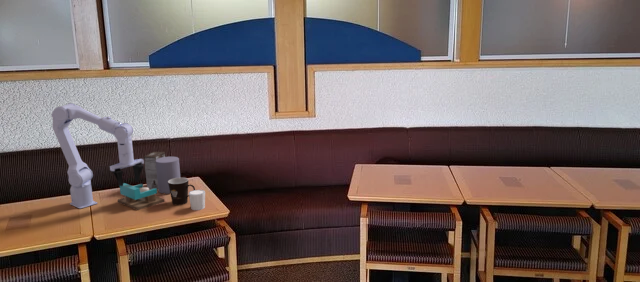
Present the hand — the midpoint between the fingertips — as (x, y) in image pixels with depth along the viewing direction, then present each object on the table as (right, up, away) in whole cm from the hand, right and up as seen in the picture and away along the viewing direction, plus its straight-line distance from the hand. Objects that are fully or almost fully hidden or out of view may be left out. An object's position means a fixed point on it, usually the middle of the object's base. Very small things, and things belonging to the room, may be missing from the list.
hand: (129, 183), depth 225 cm
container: (+12, -5, +20) cm, 24 cm away
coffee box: (+4, -4, +27) cm, 27 cm away
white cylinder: (+30, -10, -2) cm, 32 cm away
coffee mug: (+22, -9, +3) cm, 24 cm away
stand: (+3, -9, +6) cm, 11 cm away
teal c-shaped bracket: (+3, -5, +4) cm, 7 cm away
